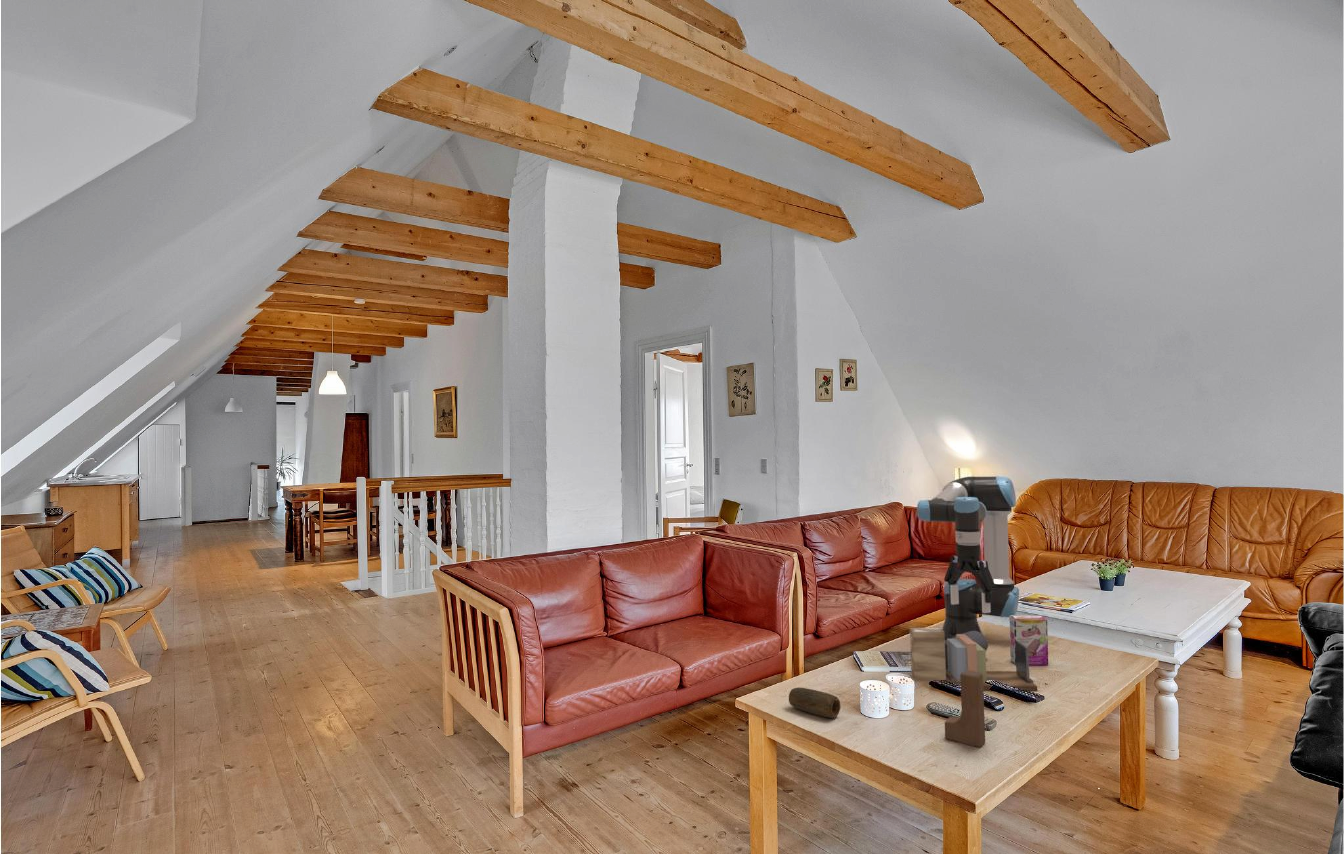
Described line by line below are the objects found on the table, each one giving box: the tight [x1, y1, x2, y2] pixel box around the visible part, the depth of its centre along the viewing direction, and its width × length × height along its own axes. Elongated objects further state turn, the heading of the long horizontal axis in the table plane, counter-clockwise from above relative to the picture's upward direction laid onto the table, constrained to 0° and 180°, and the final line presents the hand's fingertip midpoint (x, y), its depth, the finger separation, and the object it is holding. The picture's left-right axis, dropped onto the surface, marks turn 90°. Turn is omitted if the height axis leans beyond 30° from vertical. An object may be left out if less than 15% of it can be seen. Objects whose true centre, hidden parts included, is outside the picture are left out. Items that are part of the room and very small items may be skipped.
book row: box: [946, 634, 987, 682], centre depth 218 cm, size 11×9×12 cm
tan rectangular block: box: [909, 627, 947, 681], centre depth 223 cm, size 5×10×16 cm, turn 85°
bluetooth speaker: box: [945, 631, 989, 669], centre depth 236 cm, size 23×9×10 cm, turn 131°
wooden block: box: [944, 670, 986, 748], centre depth 175 cm, size 9×4×18 cm, turn 50°
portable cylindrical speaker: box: [788, 687, 841, 719], centre depth 196 cm, size 15×7×7 cm, turn 49°
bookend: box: [1015, 641, 1035, 684], centre depth 216 cm, size 8×2×11 cm, turn 174°
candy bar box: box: [1009, 614, 1049, 666], centre depth 235 cm, size 11×5×16 cm, turn 84°
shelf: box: [946, 670, 1038, 692], centre depth 217 cm, size 14×24×2 cm, turn 84°
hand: (970, 608), depth 221 cm, fingers open, 13 cm apart
